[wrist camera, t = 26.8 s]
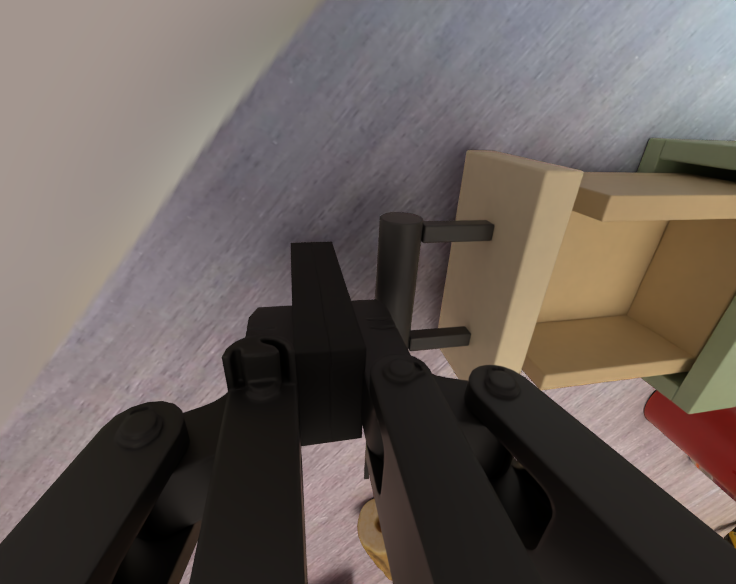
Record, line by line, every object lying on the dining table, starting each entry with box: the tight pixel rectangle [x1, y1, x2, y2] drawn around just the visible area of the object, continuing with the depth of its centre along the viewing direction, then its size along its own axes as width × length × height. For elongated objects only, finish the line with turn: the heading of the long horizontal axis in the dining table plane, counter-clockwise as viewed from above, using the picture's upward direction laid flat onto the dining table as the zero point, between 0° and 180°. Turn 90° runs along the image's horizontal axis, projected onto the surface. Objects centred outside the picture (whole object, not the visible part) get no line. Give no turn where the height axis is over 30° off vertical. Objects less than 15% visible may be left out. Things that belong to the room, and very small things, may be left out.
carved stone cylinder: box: [357, 499, 392, 580], centre depth 24 cm, size 8×4×4 cm, turn 23°
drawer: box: [375, 150, 736, 390], centre depth 14 cm, size 14×9×5 cm, turn 87°
